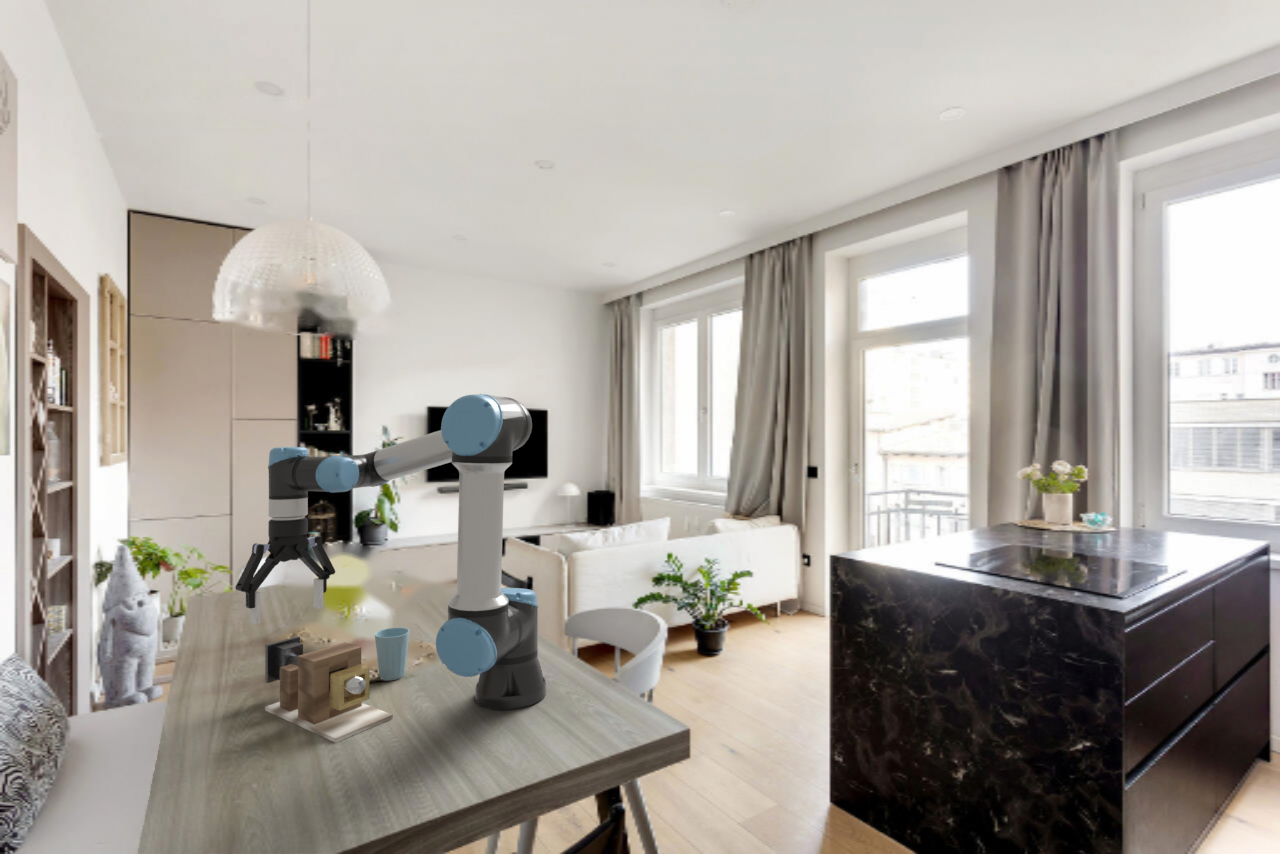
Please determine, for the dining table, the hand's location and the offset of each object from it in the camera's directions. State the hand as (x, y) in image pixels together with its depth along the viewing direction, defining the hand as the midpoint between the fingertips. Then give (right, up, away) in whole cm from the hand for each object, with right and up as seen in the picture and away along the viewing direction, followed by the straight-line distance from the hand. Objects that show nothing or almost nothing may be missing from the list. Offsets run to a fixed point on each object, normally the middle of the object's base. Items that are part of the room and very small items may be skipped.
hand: (287, 615), depth 140 cm
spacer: (+19, -10, -13) cm, 26 cm away
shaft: (+10, -14, -7) cm, 18 cm away
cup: (+18, -18, +12) cm, 28 cm away
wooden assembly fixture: (+14, -18, -9) cm, 24 cm away
